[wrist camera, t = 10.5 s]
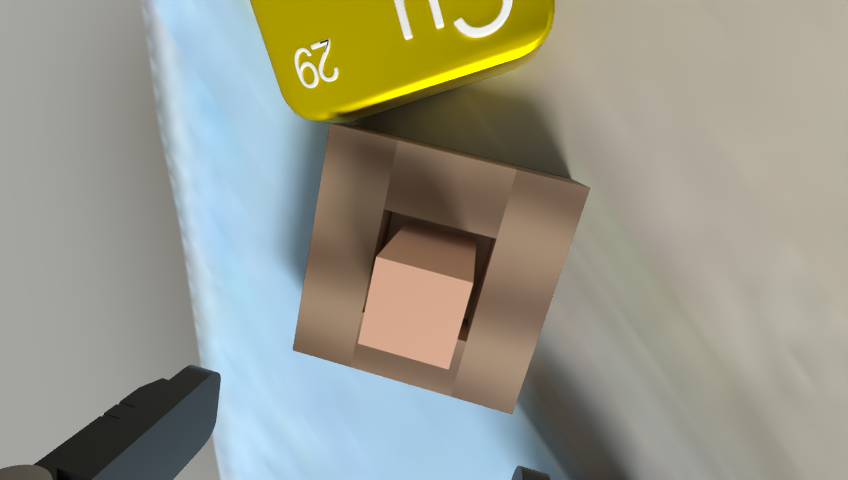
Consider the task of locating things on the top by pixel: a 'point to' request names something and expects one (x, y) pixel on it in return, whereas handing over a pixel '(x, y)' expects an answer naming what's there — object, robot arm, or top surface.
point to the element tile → (392, 49)
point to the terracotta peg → (419, 294)
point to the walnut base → (450, 211)
